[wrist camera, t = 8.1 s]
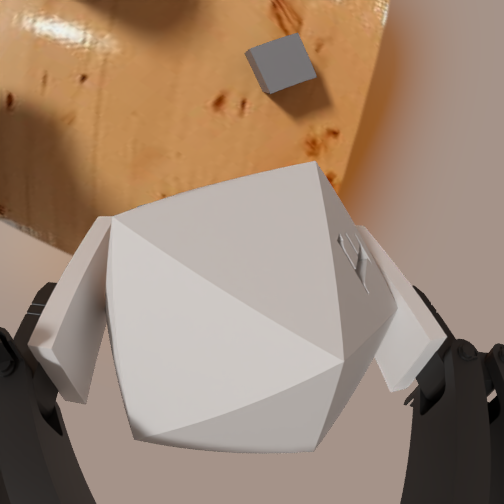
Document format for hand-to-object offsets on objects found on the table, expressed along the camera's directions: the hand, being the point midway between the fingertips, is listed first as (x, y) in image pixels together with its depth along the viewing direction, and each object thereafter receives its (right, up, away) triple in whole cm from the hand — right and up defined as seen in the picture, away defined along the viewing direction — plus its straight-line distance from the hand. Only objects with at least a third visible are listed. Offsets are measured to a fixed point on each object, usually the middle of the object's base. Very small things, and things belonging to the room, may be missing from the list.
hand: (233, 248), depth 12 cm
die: (0, 0, 0) cm, 0 cm away
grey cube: (+3, +20, +15) cm, 26 cm away
